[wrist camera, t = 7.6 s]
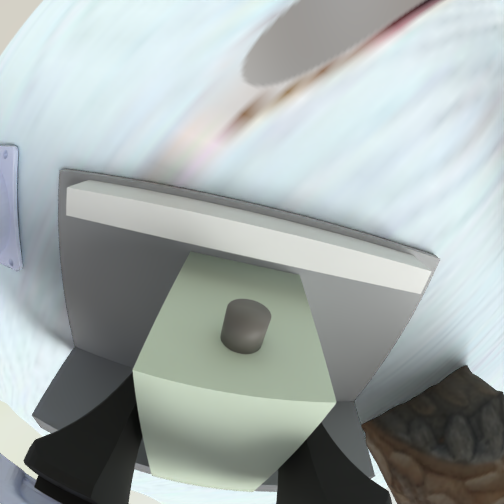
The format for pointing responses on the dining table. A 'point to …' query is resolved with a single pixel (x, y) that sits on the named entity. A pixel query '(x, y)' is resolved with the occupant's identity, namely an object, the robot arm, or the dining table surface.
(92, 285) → the grey piece
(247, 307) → the cabinet block
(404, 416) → the owl
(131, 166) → the dining table surface
